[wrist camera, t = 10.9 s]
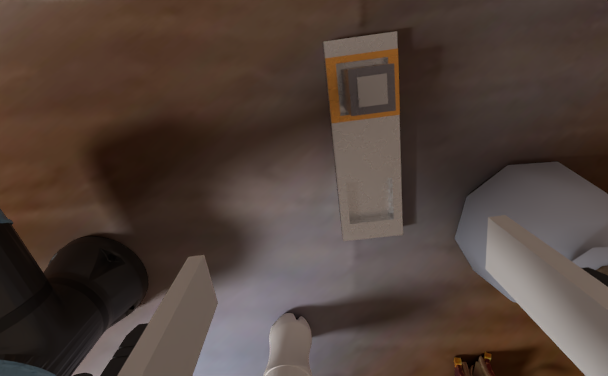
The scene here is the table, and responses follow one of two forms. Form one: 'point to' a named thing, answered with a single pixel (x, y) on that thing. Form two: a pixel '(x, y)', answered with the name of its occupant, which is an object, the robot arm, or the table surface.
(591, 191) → the bottle
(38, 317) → the robot arm
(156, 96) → the table surface
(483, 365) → the book monster
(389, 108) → the grey tall square block
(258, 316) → the table surface
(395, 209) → the rail
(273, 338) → the water bottle
